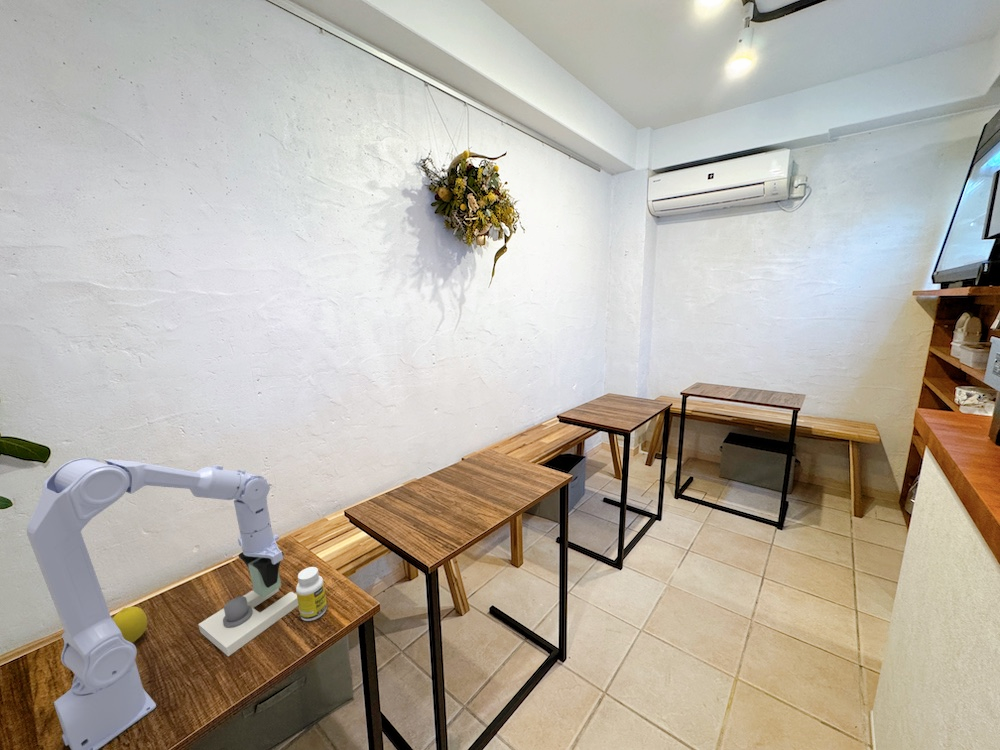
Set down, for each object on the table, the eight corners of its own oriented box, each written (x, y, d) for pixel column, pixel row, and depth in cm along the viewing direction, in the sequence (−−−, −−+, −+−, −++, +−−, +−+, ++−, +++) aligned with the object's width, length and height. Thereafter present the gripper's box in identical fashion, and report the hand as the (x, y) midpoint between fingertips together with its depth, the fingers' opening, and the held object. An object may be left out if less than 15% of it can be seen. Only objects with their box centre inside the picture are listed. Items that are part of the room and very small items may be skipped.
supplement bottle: (320, 621, 83) (313, 581, 81) (295, 622, 83) (288, 582, 81) (331, 602, 88) (325, 563, 86) (308, 603, 88) (301, 564, 87)
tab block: (263, 597, 85) (257, 569, 84) (253, 591, 87) (248, 563, 86) (281, 585, 88) (276, 558, 87) (271, 580, 90) (266, 553, 89)
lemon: (146, 626, 84) (138, 594, 83) (154, 638, 81) (145, 605, 80) (111, 645, 80) (101, 612, 78) (118, 658, 77) (108, 624, 75)
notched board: (228, 656, 76) (222, 632, 75) (200, 632, 82) (194, 609, 81) (300, 603, 88) (297, 582, 87) (271, 586, 95) (267, 566, 93)
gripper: (292, 525, 84) (302, 580, 87) (256, 509, 92) (266, 560, 94) (258, 543, 78) (270, 601, 81) (223, 525, 86) (235, 579, 89)
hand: (266, 581), depth 87 cm, fingers closed on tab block, 4 cm apart
